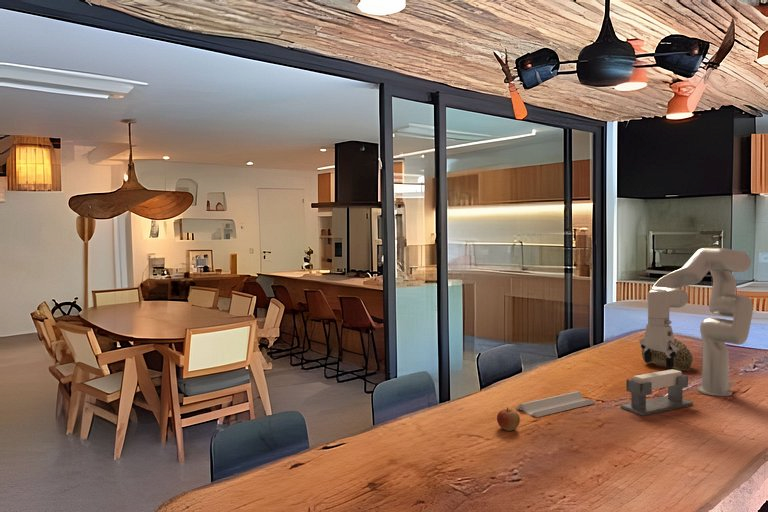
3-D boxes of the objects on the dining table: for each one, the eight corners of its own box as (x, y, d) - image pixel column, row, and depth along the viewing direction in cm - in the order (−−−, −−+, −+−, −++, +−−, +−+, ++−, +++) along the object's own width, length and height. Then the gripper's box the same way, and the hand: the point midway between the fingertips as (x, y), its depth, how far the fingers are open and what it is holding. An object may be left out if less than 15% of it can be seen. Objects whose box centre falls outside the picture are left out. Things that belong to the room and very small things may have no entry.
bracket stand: (670, 397, 227) (671, 370, 226) (693, 404, 218) (693, 376, 217) (620, 407, 215) (621, 378, 215) (642, 415, 206) (642, 385, 206)
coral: (695, 368, 277) (697, 339, 277) (688, 374, 263) (691, 343, 262) (645, 360, 291) (648, 332, 291) (637, 365, 277) (639, 335, 277)
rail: (672, 381, 223) (672, 369, 222) (681, 384, 219) (681, 371, 219) (633, 388, 214) (633, 376, 213) (641, 391, 210) (641, 378, 210)
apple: (507, 435, 189) (506, 412, 189) (492, 427, 196) (492, 405, 196) (524, 431, 193) (525, 408, 192) (509, 423, 200) (509, 402, 199)
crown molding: (536, 419, 206) (536, 410, 206) (514, 410, 216) (514, 401, 216) (594, 405, 221) (594, 396, 221) (571, 397, 231) (571, 388, 231)
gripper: (685, 324, 209) (685, 368, 210) (646, 317, 224) (646, 358, 225) (671, 326, 205) (671, 371, 207) (633, 319, 221) (633, 361, 222)
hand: (658, 364), depth 216 cm, fingers open, 9 cm apart
